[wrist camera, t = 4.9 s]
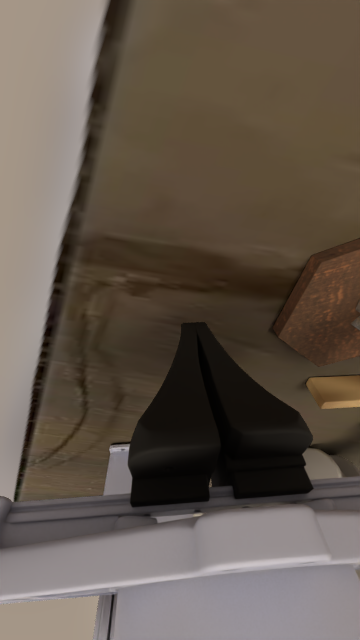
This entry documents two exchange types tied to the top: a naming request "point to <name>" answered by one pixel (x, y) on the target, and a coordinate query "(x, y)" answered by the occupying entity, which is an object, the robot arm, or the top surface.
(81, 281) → the top surface
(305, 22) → the top surface
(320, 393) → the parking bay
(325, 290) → the robot figurine
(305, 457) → the pony
